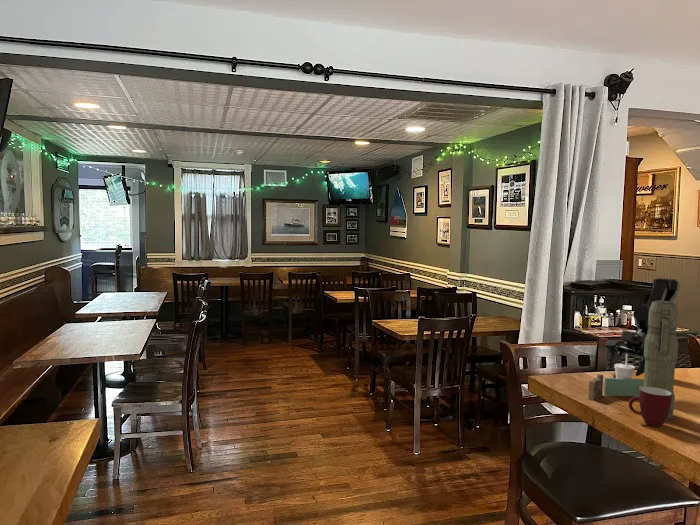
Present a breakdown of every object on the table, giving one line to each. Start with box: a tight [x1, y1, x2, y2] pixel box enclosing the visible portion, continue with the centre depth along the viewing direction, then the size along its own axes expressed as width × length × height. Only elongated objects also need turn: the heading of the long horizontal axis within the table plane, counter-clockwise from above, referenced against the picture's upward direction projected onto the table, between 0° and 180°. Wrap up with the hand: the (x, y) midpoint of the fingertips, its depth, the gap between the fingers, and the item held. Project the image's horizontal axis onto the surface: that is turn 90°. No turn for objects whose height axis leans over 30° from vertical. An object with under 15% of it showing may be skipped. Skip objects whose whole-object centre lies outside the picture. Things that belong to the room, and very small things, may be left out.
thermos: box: [643, 300, 679, 420], centre depth 154 cm, size 9×12×35 cm
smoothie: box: [613, 353, 636, 379], centre depth 175 cm, size 6×6×14 cm
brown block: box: [588, 373, 616, 401], centre depth 176 cm, size 24×2×7 cm, turn 133°
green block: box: [603, 377, 644, 397], centre depth 171 cm, size 13×2×6 cm, turn 85°
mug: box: [628, 387, 672, 428], centre depth 147 cm, size 11×8×10 cm
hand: (623, 371), depth 174 cm, fingers open, 9 cm apart
